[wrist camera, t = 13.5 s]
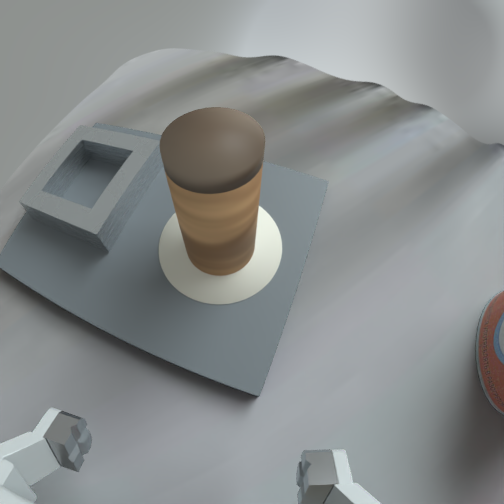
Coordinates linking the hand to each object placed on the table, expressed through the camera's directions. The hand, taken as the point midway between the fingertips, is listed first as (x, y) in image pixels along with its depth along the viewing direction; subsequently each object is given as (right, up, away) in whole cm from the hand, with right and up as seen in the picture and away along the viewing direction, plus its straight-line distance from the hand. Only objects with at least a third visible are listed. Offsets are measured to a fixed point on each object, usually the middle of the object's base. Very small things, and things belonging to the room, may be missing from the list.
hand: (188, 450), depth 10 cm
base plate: (-5, +9, +13) cm, 16 cm away
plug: (0, +8, +11) cm, 13 cm away
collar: (-10, +12, +13) cm, 20 cm away
